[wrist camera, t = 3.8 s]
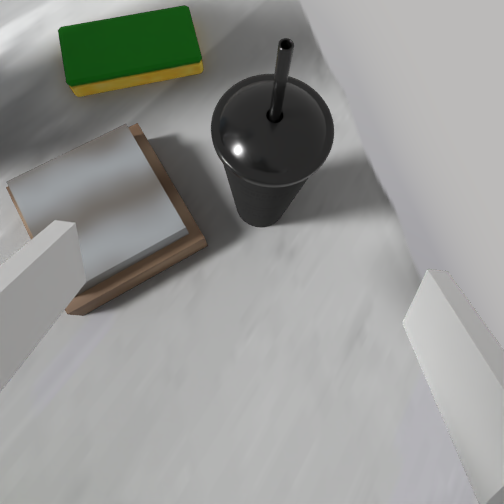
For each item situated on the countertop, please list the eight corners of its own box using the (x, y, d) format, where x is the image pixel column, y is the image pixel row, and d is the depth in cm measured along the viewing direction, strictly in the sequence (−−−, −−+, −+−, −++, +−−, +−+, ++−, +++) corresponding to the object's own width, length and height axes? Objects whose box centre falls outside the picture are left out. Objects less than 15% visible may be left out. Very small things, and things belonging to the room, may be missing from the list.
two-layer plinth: (26, 199, 34) (-10, 177, 29) (145, 139, 36) (131, 110, 31) (83, 315, 32) (54, 313, 27) (207, 245, 34) (202, 231, 29)
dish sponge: (204, 75, 38) (202, 58, 36) (77, 100, 37) (66, 84, 35) (191, 23, 40) (187, 3, 38) (68, 45, 39) (57, 26, 36)
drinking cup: (240, 253, 34) (241, 148, 14) (210, 185, 35) (172, 4, 16) (311, 223, 35) (403, 85, 15) (278, 158, 36) (324, -45, 16)
